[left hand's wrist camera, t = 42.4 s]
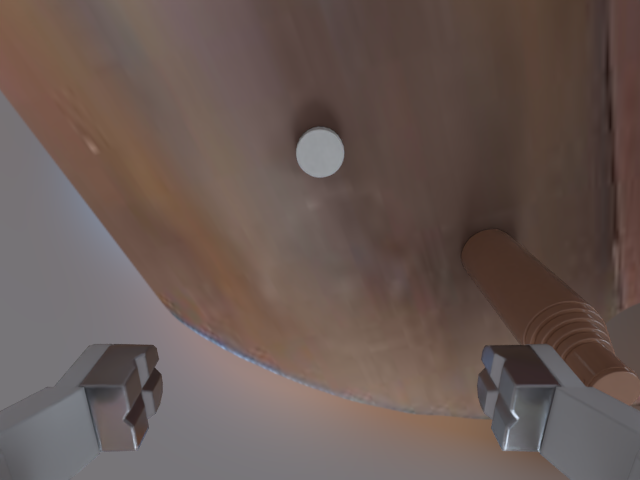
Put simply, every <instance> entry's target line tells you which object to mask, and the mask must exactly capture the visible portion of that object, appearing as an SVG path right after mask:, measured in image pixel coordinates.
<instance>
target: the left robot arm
mask: <svg viewBox="0 0 640 480" xmlns="http://www.w3.org/2000/svg"><path fill="white" fill-rule="evenodd" d="M158 360H159V357H158V352H157V348H156V347H155V346H154V345H134V344H93V345H90V346H88V347H87V349H86V350H85V351H84V352H83V353H82V354H81V356H80V357H79V358H78V359H77V360H76V361H75V363H74V364H73V365H72V366H71V367H70V368H69V370H68V371H67V372H66V373H65V374H64V376H63V377H62V378H61V379H60V380H59V381H58V383H57V384H56V385H55V386H54V387H46V388H44V389H42V390H40V391H38V392H36V393H34V394H33V395H31V396H29V397H27V398H25V399H23V400H21V401H19V402H17V403H15V404H13V405H11V406H9V407H7V408H5V409H3V410H1V411H0V480H70V479H71V478H72V477H73V476H75V475H76V474H77V473H78V472H79V471H81V470H82V469H83V468H84V467H85V466H86V465H88V464H89V463H90V462H91V461H92V460H93V459H95V458H96V457H97V456H98V455H99V454H100V452H109V451H138V449H139V447H140V445H141V443H142V441H143V439H144V437H145V435H146V433H147V431H148V429H149V426H148V419H149V418H150V417H152V416H153V415H155V414H156V412H157V410H158V407H159V405H160V401H161V397H162V392H163V382H162V375H161V373H160V372H159V371H158V370H156V368H155V366H156V364H157V362H158ZM481 360H482V362H483V364H484V366H485V368H484V369H483V370H482V371H481V372H480V373H479V375H478V383H477V390H478V398H479V402H480V406H481V408H482V410H483V412H484V414H485V415H487V416H488V417H490V418H491V419H492V426H491V429H492V431H493V433H494V435H495V437H496V439H497V441H498V443H499V445H500V447H501V449H502V451H530V452H540V454H541V455H542V456H543V457H544V458H546V459H547V460H548V461H549V462H550V463H551V464H553V465H554V466H555V467H556V468H557V469H558V470H560V471H561V472H562V473H563V474H564V475H565V476H567V477H568V478H569V479H570V480H640V411H638V410H637V409H635V408H633V407H631V406H629V405H627V404H625V403H623V402H621V401H619V400H617V399H615V398H613V397H611V396H609V395H607V394H606V393H604V392H602V391H600V390H598V389H596V388H594V387H586V386H585V385H584V384H583V383H582V381H581V380H580V379H579V378H578V377H577V376H576V374H575V373H574V372H573V371H572V370H571V369H570V367H569V366H568V365H567V364H566V363H565V361H564V360H563V359H562V358H561V357H560V356H559V354H558V353H557V352H556V351H555V350H554V349H553V347H552V346H550V345H548V344H526V345H485V347H484V349H483V351H482V357H481Z"/></svg>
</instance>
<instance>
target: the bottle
mask: <svg viewBox="0 0 640 480" xmlns="http://www.w3.org/2000/svg"><path fill="white" fill-rule="evenodd" d="M461 260H462V265H463V267H464V269H465V270H466V272H467V273H468V274H469V276H470V277H471V279H472V280H473V281H474V283H475V284H476V285H477V287H478V288H479V289H480V291H481V292H482V294H483V295H484V296H485V298H486V299H487V300H488V302H489V303H490V305H491V306H492V307H493V309H494V310H495V311H496V313H497V314H498V315H499V317H500V318H501V320H502V321H503V322H504V324H505V325H506V326H507V328H508V329H509V331H510V332H511V333H512V335H513V336H514V337H515V339H516V340H517V342H518V343H519V344H520V345H526V344H548V345H550V346H552V347H553V349H554V350H555V351H556V352H557V353H558V354H559V356H560V357H561V358H562V359H563V360H564V361H565V363H566V364H567V365H568V366H569V367H570V369H571V370H572V371H573V372H574V373H575V374H576V376H577V377H578V378H579V379H580V380H581V381H582V383H583V384H584V385H585V386H586V387H594V388H596V389H598V390H600V391H602V392H604V393H606V394H607V395H609V396H611V397H613V398H615V399H617V400H619V401H621V402H623V403H625V404H627V405H629V406H630V405H632V404H633V403H634V402H635V401H636V400H637V399H638V397H639V395H640V379H639V378H638V376H637V374H636V373H635V371H633V370H632V369H631V368H629V367H627V366H626V365H625V364H624V363H623V362H622V361H621V360H620V359H619V358H618V357H617V356H616V355H615V351H614V348H613V347H612V342H611V340H610V337H609V334H608V331H607V327H606V324H605V322H604V320H603V319H602V318H601V316H600V315H599V313H598V312H597V311H596V309H594V308H593V307H592V306H591V305H590V304H589V303H587V302H586V301H585V300H584V299H583V298H582V297H581V296H579V295H578V294H577V293H576V292H575V291H574V290H572V289H571V288H570V287H569V286H568V285H567V284H565V283H564V282H563V281H562V280H561V279H560V278H559V277H557V276H556V275H555V274H554V273H553V272H552V271H550V270H549V269H548V268H547V267H546V266H545V265H544V264H542V263H541V262H540V261H539V260H538V259H537V258H535V257H534V256H533V255H532V254H531V253H530V252H528V251H527V250H526V249H525V248H524V247H523V246H522V245H520V244H519V243H518V242H517V241H516V240H515V239H513V238H512V237H511V236H510V235H509V234H508V233H506V232H504V231H502V230H498V229H487V230H483V231H480V232H478V233H476V234H475V235H473V236H472V237H471V238H470V239H469V240H468V241H467V242H466V244H465V246H464V248H463V250H462V255H461Z"/></svg>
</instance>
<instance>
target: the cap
mask: <svg viewBox="0 0 640 480" xmlns="http://www.w3.org/2000/svg"><path fill="white" fill-rule="evenodd" d="M344 153H345V152H344V146H343V144H342V140H341V139H340V138H339V135H337V134H336V133H335V131H333V130H331V129H330V128H325V127H324V126H323V127H319V126H318V127H315V128H313V127H312V129H309V130H307V131H306V132H305V133H303V135H302V137H300V139H299V142H298V143H297V148H296V157H297V162H298V164H299V166H300V167H301V168H302V170H303V171H304V172H306V173H307V174H309V175H311V176H313V177H327V176H330V175H332V174H333V173H335V172H336V171H337V170H338V169H339V168H340V166H341V164H342V162H343V159H344Z"/></svg>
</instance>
